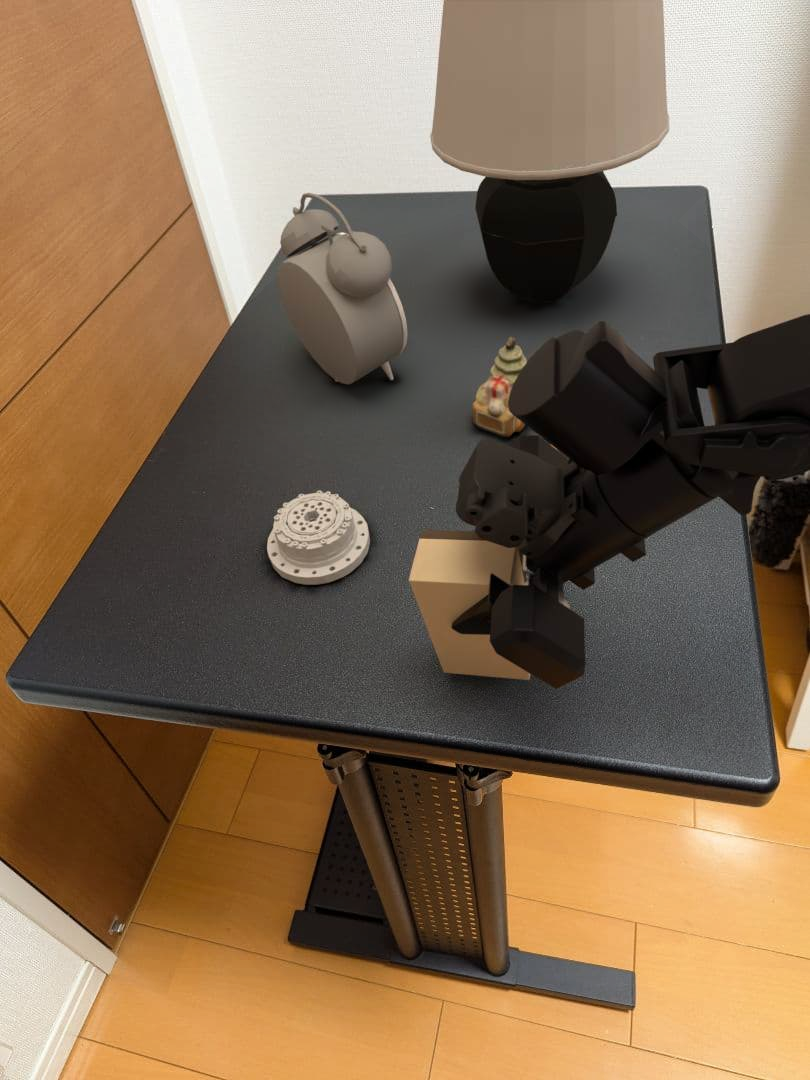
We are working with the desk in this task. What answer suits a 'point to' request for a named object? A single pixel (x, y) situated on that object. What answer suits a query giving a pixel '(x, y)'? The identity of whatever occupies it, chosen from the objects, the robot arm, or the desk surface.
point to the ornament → (499, 393)
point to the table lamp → (548, 125)
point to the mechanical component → (317, 539)
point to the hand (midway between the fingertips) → (458, 601)
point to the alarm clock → (340, 294)
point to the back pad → (462, 597)
